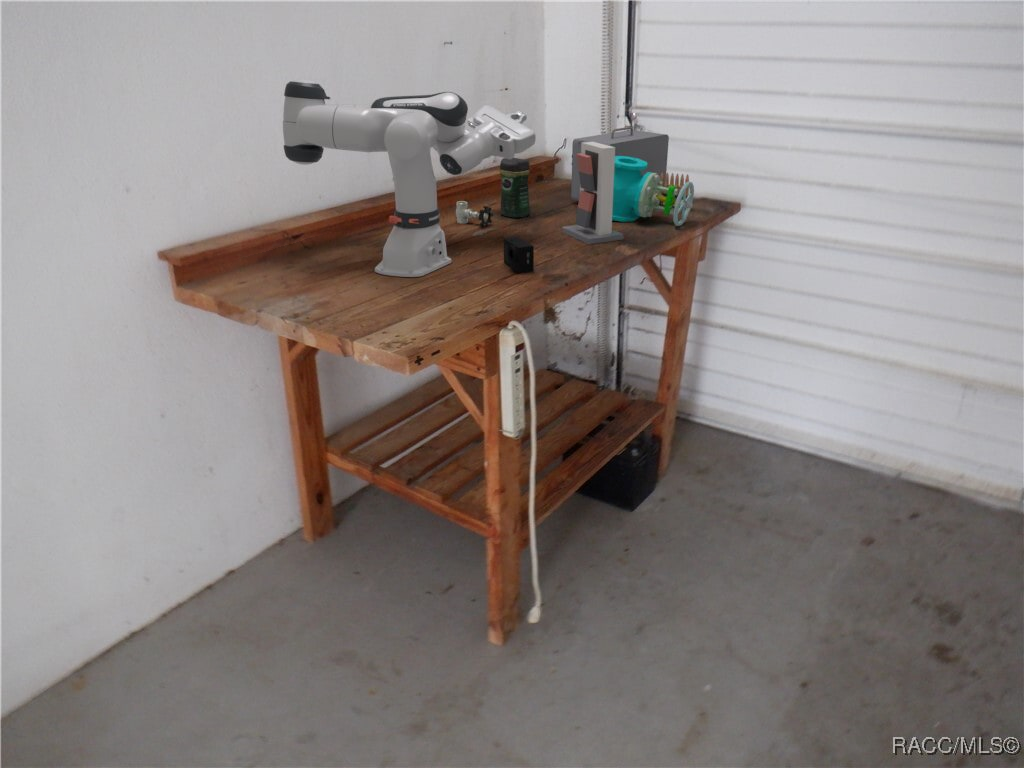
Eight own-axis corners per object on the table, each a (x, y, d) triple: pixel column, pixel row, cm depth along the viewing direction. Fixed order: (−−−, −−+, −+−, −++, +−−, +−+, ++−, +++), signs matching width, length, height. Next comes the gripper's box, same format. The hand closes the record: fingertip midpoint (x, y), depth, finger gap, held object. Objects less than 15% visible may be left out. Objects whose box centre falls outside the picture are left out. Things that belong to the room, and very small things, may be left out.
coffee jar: (533, 215, 270) (534, 158, 262) (516, 219, 265) (516, 161, 257) (513, 210, 276) (513, 154, 269) (496, 214, 272) (495, 157, 264)
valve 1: (451, 223, 261) (481, 229, 255) (450, 203, 259) (480, 208, 252) (463, 219, 266) (493, 224, 260) (463, 199, 263) (493, 204, 257)
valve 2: (618, 153, 266) (706, 174, 254) (610, 206, 275) (694, 228, 262) (600, 160, 255) (690, 182, 243) (591, 215, 264) (678, 238, 251)
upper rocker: (584, 186, 242) (580, 153, 238) (594, 190, 238) (590, 156, 233) (580, 187, 242) (576, 154, 237) (591, 191, 237) (587, 157, 232)
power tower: (594, 227, 256) (598, 139, 244) (623, 239, 243) (628, 147, 231) (561, 231, 251) (563, 143, 239) (588, 244, 238) (591, 151, 227)
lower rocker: (578, 223, 247) (584, 190, 243) (588, 228, 242) (594, 194, 238) (574, 223, 246) (580, 190, 242) (585, 228, 241) (591, 194, 238)
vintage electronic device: (625, 189, 306) (629, 120, 295) (664, 197, 293) (669, 125, 283) (566, 203, 286) (568, 129, 276) (605, 212, 274) (609, 135, 263)
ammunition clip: (688, 209, 276) (691, 174, 271) (686, 211, 274) (689, 175, 269) (658, 206, 281) (660, 171, 276) (656, 207, 279) (658, 172, 274)
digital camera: (499, 263, 222) (499, 238, 219) (517, 260, 224) (517, 235, 221) (514, 273, 213) (514, 247, 210) (533, 271, 215) (533, 245, 212)
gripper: (465, 131, 239) (498, 109, 244) (515, 162, 230) (548, 138, 235) (463, 113, 234) (497, 91, 239) (514, 143, 225) (548, 120, 230)
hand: (523, 114), depth 237 cm, fingers closed
